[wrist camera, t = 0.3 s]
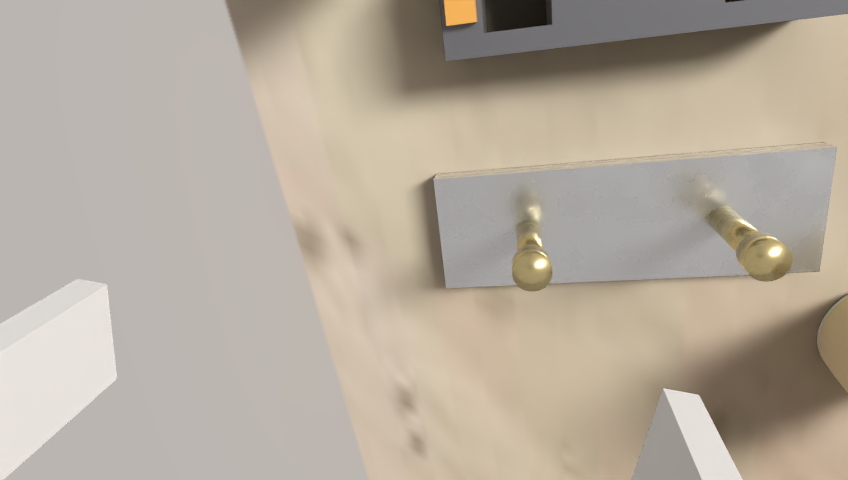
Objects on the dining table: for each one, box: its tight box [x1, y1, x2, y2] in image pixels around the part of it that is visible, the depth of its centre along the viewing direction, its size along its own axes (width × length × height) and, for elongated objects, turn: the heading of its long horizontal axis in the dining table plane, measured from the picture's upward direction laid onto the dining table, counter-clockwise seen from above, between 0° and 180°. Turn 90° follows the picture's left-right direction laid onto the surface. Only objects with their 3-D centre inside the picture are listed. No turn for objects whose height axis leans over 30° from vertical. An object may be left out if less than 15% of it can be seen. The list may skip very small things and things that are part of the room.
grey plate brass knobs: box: [433, 142, 837, 291], centre depth 33 cm, size 24×8×8 cm, turn 96°
